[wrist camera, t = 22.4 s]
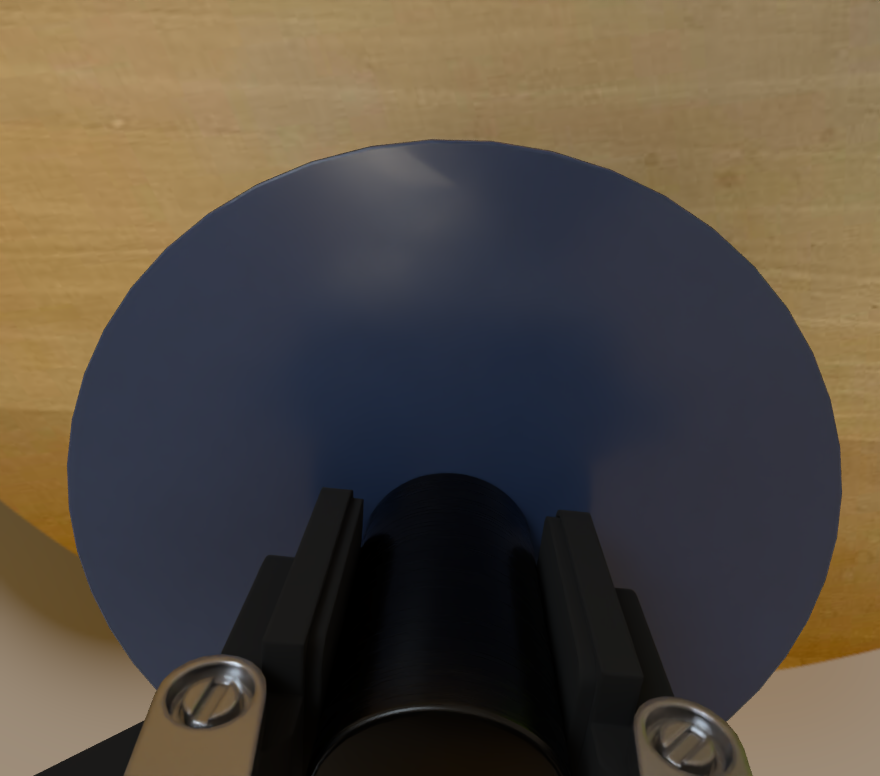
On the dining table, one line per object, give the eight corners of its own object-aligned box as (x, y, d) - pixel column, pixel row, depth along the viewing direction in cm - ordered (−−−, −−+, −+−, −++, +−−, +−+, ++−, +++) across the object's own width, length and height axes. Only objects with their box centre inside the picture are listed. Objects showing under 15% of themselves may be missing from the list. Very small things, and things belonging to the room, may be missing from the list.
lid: (920, 182, 12) (1446, 242, 5) (717, 800, 17) (866, 1193, 11) (58, 98, 11) (-413, 62, 5) (123, 744, 17) (-77, 1106, 10)
